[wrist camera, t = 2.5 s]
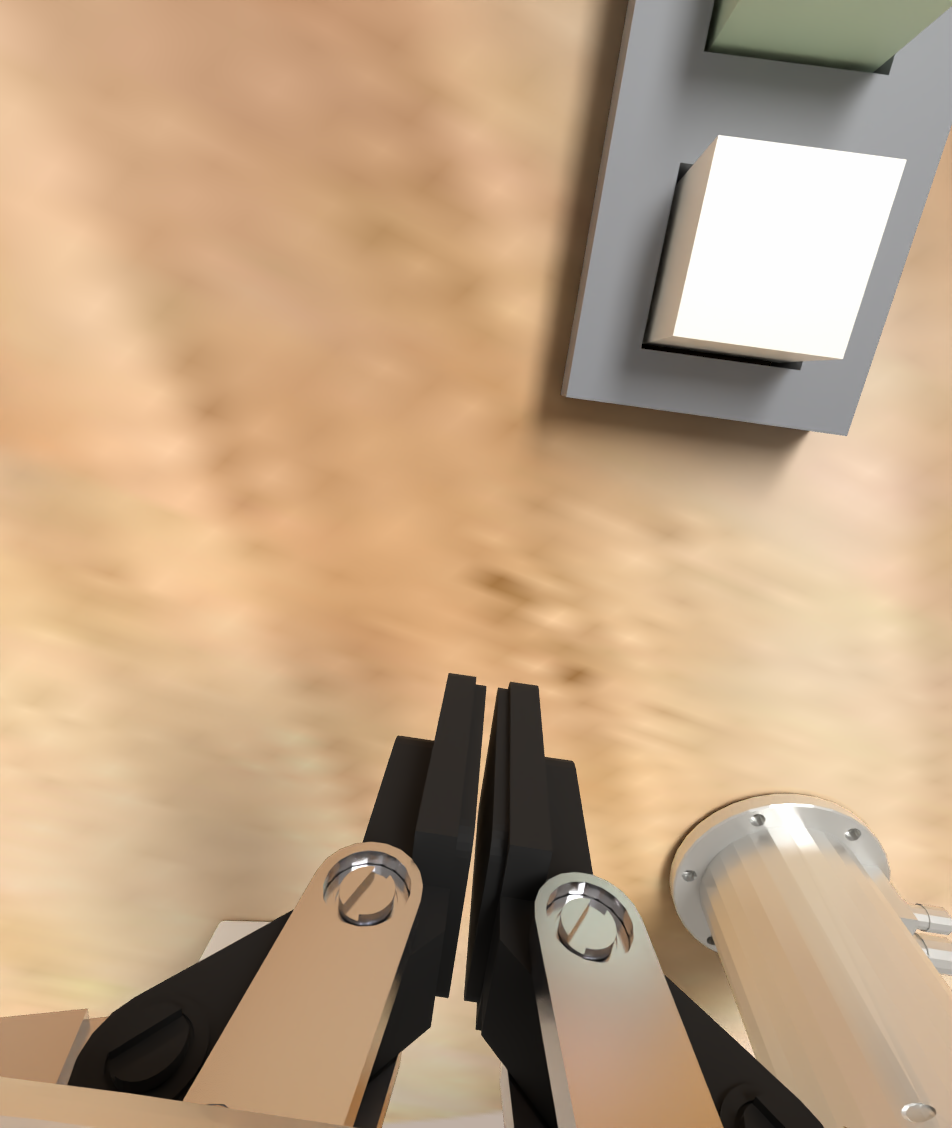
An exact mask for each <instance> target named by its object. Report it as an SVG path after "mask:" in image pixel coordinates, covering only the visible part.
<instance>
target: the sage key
mask: <svg viewBox="0 0 952 1128" xmlns="http://www.w3.org/2000/svg"><path fill="white" fill-rule="evenodd" d="M951 6H952V0H714V5H713V10H712V15H711V19H710V24H709V29H708V34H707V38H706V43H705V48H704V51H705V52H712V53H720V54H728V55H736V56H743V57H751V58H759V59H767V60H775V61H782V62H790V63H798V64H806V65H813V66H821V67H829V68H837V69H844V70H852V71H860V72H868V73H873V72H874V71H876V70H877V69H878V68H879V67H880V66H881V65H883V64H884V63H885V62H886V61H887V60H889V59H890V58H891V57H892V56H893V55H894V54H896V53H897V52H898V51H899V50H900V49H902V48H903V47H904V46H905V45H906V44H907V43H909V42H910V41H911V40H912V39H913V38H915V37H916V36H917V35H918V34H919V33H921V32H922V31H923V30H924V29H925V28H926V27H928V26H929V25H930V24H931V23H932V22H934V21H935V20H936V19H937V18H938V17H939V16H941V15H942V14H943V13H944V12H945V11H947V10H948V9H949V8H950V7H951Z"/></svg>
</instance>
